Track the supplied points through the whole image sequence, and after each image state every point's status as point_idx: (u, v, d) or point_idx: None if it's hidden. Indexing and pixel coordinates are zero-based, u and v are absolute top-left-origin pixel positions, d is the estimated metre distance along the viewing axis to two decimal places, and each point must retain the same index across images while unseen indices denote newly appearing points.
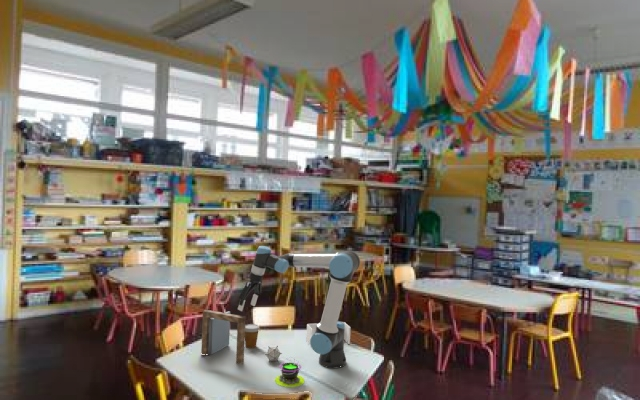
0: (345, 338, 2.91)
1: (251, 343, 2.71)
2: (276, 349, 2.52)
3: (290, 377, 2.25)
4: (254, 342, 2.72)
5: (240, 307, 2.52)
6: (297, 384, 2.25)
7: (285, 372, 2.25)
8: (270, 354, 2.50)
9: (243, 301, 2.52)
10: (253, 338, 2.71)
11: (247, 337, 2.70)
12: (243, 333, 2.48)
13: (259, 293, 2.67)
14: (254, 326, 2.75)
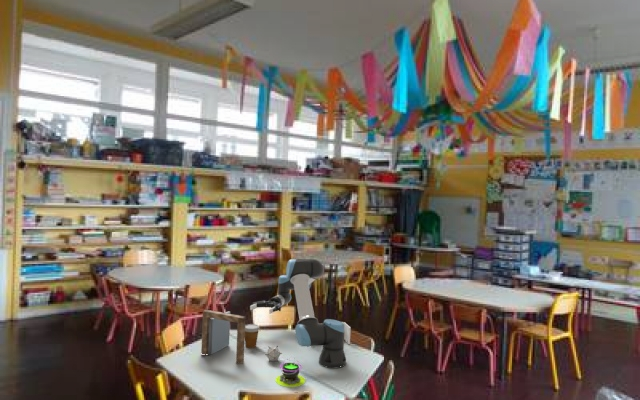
0: (345, 338, 2.91)
1: (251, 343, 2.71)
2: (276, 349, 2.52)
3: (291, 377, 2.25)
4: (254, 342, 2.72)
5: None
6: (298, 384, 2.25)
7: (286, 372, 2.25)
8: (270, 354, 2.50)
9: None
10: (253, 338, 2.71)
11: (247, 337, 2.70)
12: (243, 333, 2.48)
13: (279, 308, 2.85)
14: (254, 326, 2.75)
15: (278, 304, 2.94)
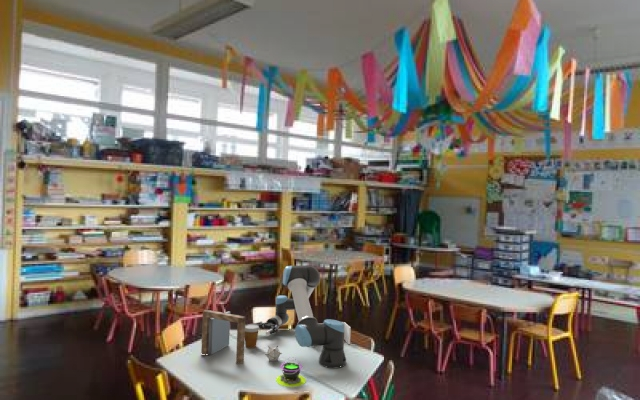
0: (345, 338, 2.91)
1: (251, 343, 2.71)
2: (276, 349, 2.52)
3: (291, 377, 2.26)
4: (254, 342, 2.72)
5: None
6: (298, 384, 2.25)
7: (286, 372, 2.26)
8: (270, 354, 2.50)
9: None
10: (253, 338, 2.71)
11: (247, 337, 2.70)
12: (243, 333, 2.48)
13: (275, 330, 2.83)
14: (254, 326, 2.75)
15: (275, 326, 2.93)
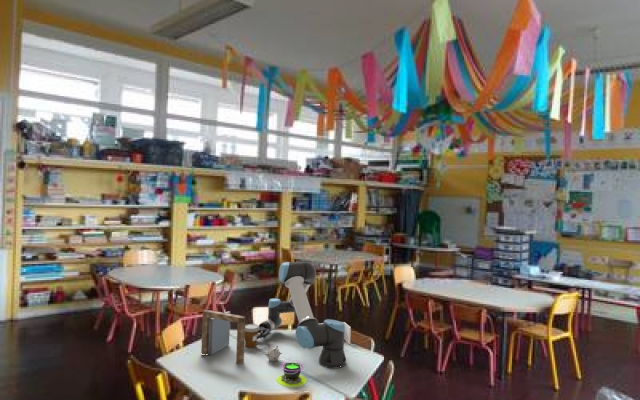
0: (345, 338, 2.91)
1: (251, 343, 2.71)
2: (276, 349, 2.52)
3: (292, 377, 2.26)
4: (254, 342, 2.72)
5: None
6: (299, 384, 2.25)
7: (287, 372, 2.26)
8: (270, 354, 2.50)
9: None
10: None
11: (247, 337, 2.70)
12: (243, 333, 2.48)
13: (263, 335, 2.73)
14: (254, 326, 2.75)
15: (267, 330, 2.83)
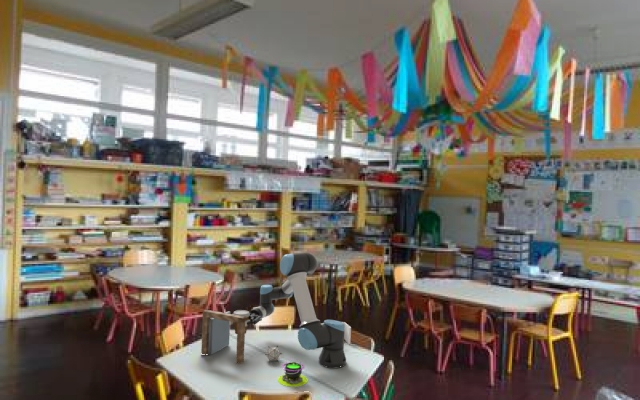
0: (345, 338, 2.91)
1: None
2: (276, 349, 2.52)
3: (293, 377, 2.26)
4: None
5: None
6: (300, 383, 2.25)
7: (288, 372, 2.26)
8: (270, 354, 2.50)
9: None
10: None
11: (237, 323, 2.59)
12: (243, 333, 2.48)
13: (253, 321, 2.62)
14: (244, 312, 2.64)
15: (258, 317, 2.72)
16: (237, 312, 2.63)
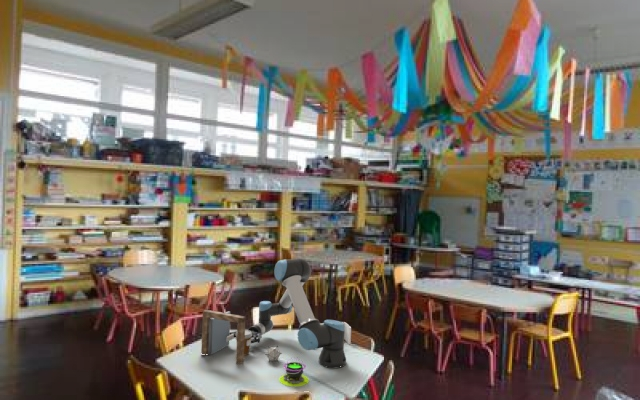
0: (346, 338, 2.91)
1: (244, 350, 2.59)
2: (276, 349, 2.52)
3: (295, 376, 2.26)
4: (247, 349, 2.60)
5: None
6: (302, 383, 2.26)
7: (290, 372, 2.26)
8: (270, 354, 2.50)
9: None
10: (246, 345, 2.59)
11: None
12: (243, 333, 2.48)
13: (257, 339, 2.63)
14: (246, 332, 2.63)
15: (257, 334, 2.72)
16: None
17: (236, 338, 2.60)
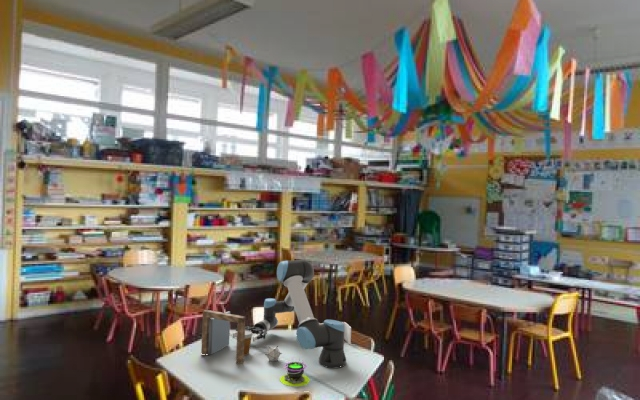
0: (346, 338, 2.91)
1: (245, 350, 2.59)
2: (276, 349, 2.52)
3: (296, 376, 2.26)
4: (247, 349, 2.60)
5: None
6: (303, 383, 2.26)
7: (291, 371, 2.26)
8: (270, 354, 2.50)
9: None
10: (247, 345, 2.60)
11: None
12: (243, 333, 2.48)
13: (263, 335, 2.69)
14: (247, 332, 2.63)
15: (263, 330, 2.79)
16: None
17: None
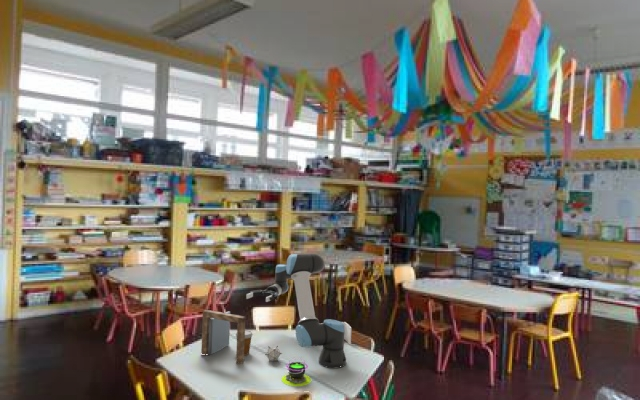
0: (346, 338, 2.91)
1: (245, 350, 2.59)
2: (276, 349, 2.52)
3: (297, 376, 2.26)
4: (247, 349, 2.60)
5: None
6: (304, 383, 2.26)
7: (292, 371, 2.26)
8: (270, 354, 2.50)
9: (251, 293, 2.85)
10: (247, 345, 2.60)
11: None
12: (243, 333, 2.48)
13: (275, 296, 2.80)
14: (247, 332, 2.64)
15: (275, 293, 2.89)
16: None
17: None
